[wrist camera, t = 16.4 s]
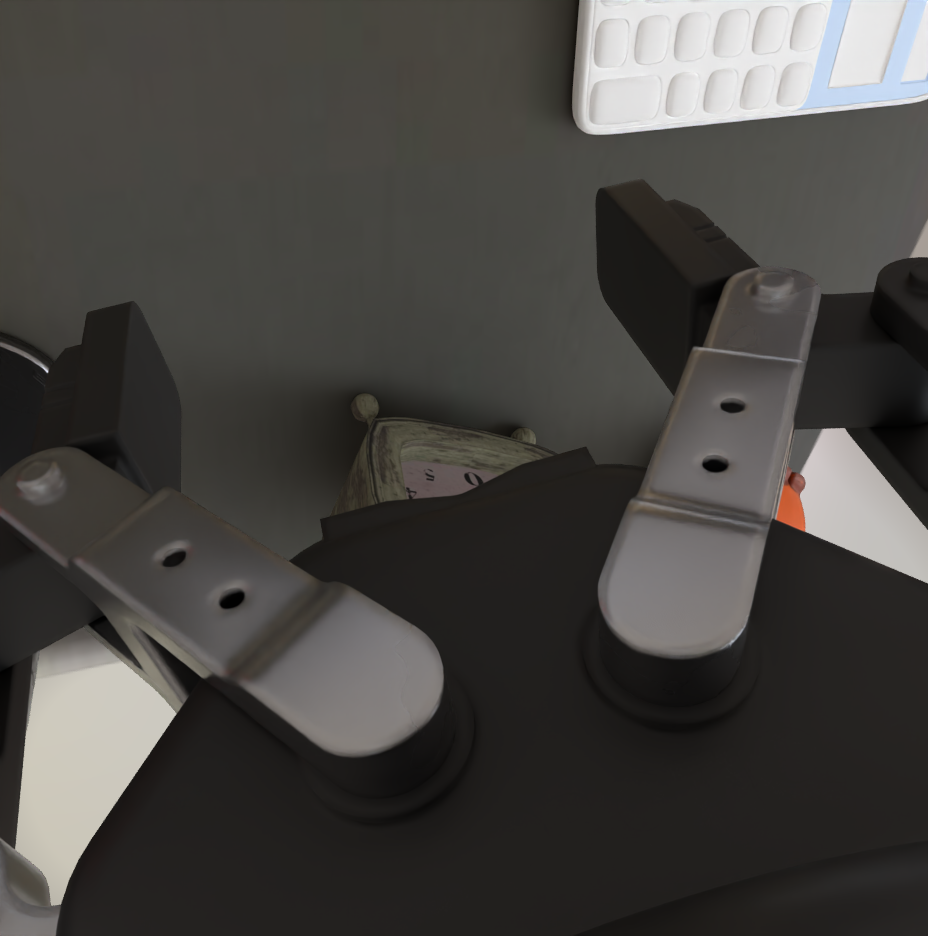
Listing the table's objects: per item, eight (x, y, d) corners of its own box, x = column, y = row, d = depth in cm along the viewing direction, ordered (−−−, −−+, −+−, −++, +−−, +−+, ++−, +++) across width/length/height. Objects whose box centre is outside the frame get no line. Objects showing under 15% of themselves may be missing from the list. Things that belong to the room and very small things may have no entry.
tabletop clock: (556, 415, 53) (748, 775, 35) (496, 516, 58) (637, 878, 39) (341, 366, 46) (439, 775, 28) (294, 484, 51) (351, 898, 33)
